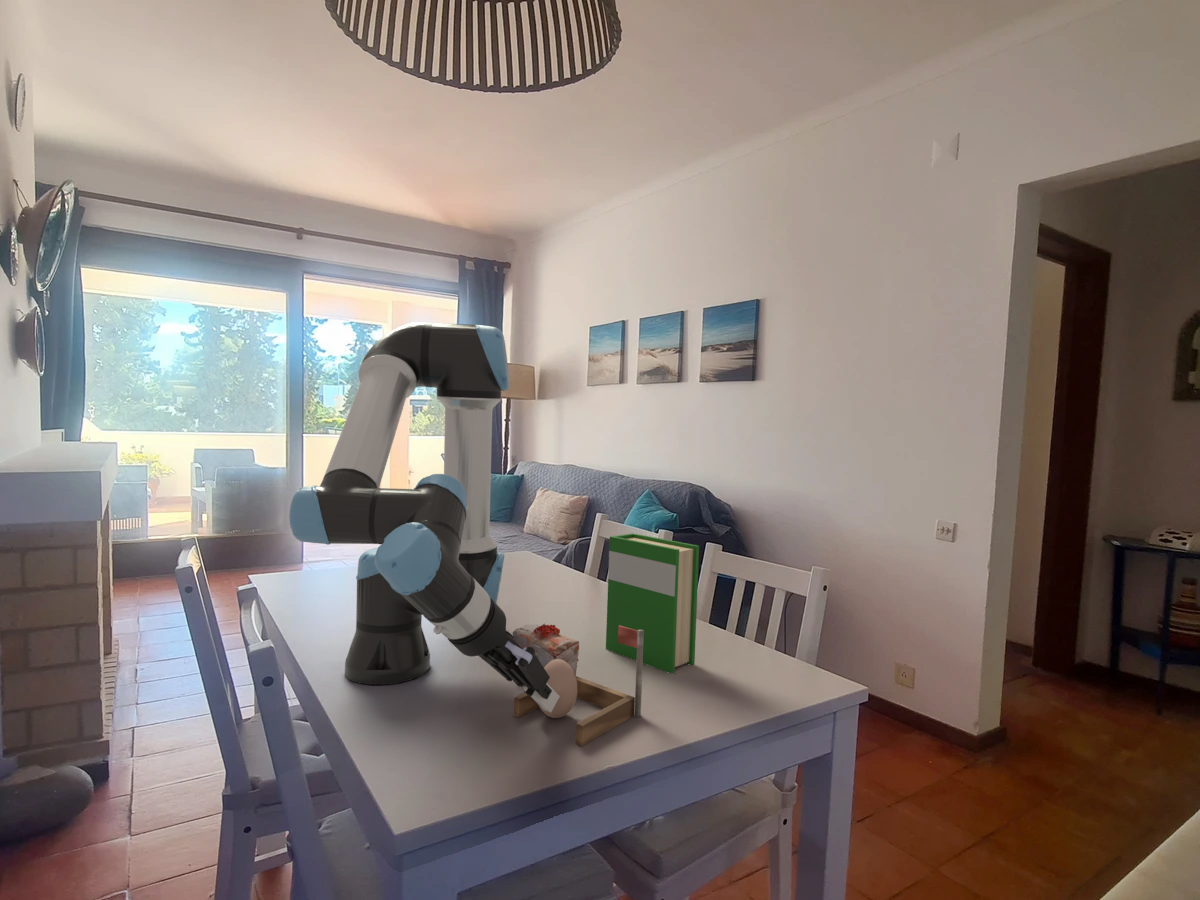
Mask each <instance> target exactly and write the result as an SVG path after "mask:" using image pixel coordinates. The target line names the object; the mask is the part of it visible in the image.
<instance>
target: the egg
mask: <svg viewBox="0 0 1200 900" xmlns="http://www.w3.org/2000/svg"><path fill="white" fill-rule="evenodd" d="M544 669H545V670H546V672H547V673H548V675H549V676H550V678H549V680H548V682H547V683H548V684H549V685H550V686H551V687H552V689H553V690H554V691H555V692H556V693H557V694H558V695H559V696H560V697H559V699H558V701H557V702H556V704H555V706H554V708H553V710H552V712H548V711H546V710H544V709H543V708H542V707H541V706H540V705H539V706H540V708H539V709H541V711H542V712H543V714H545V715H546V716H548V717H549V718H553V719H560V718H562V717H565V716H566V715H568V713H570V711H571V710H572V709H573V707H574V706H575V703H576V701H577V699H578V698H577V680H576V677H575V675H574V672H573V670H572V668H571V666H570V665H569V664H568V663H567V662H565V661H563V660H561V659H555V660H552V661H550V662H549V663H548V664H547V665H546V666H545V667H544Z"/></svg>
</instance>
